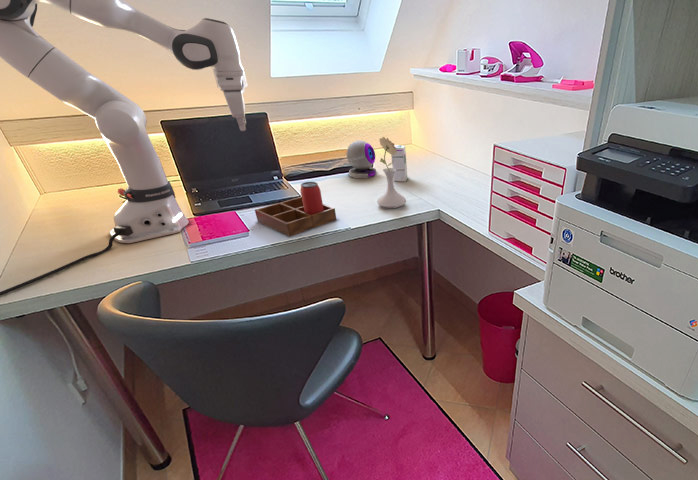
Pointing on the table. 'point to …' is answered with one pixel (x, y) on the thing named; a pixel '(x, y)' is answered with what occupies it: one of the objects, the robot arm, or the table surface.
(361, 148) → the webcam
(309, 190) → the beer can
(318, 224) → the tray
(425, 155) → the table surface
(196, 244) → the table surface
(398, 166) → the syrup box
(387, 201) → the flower in vase
